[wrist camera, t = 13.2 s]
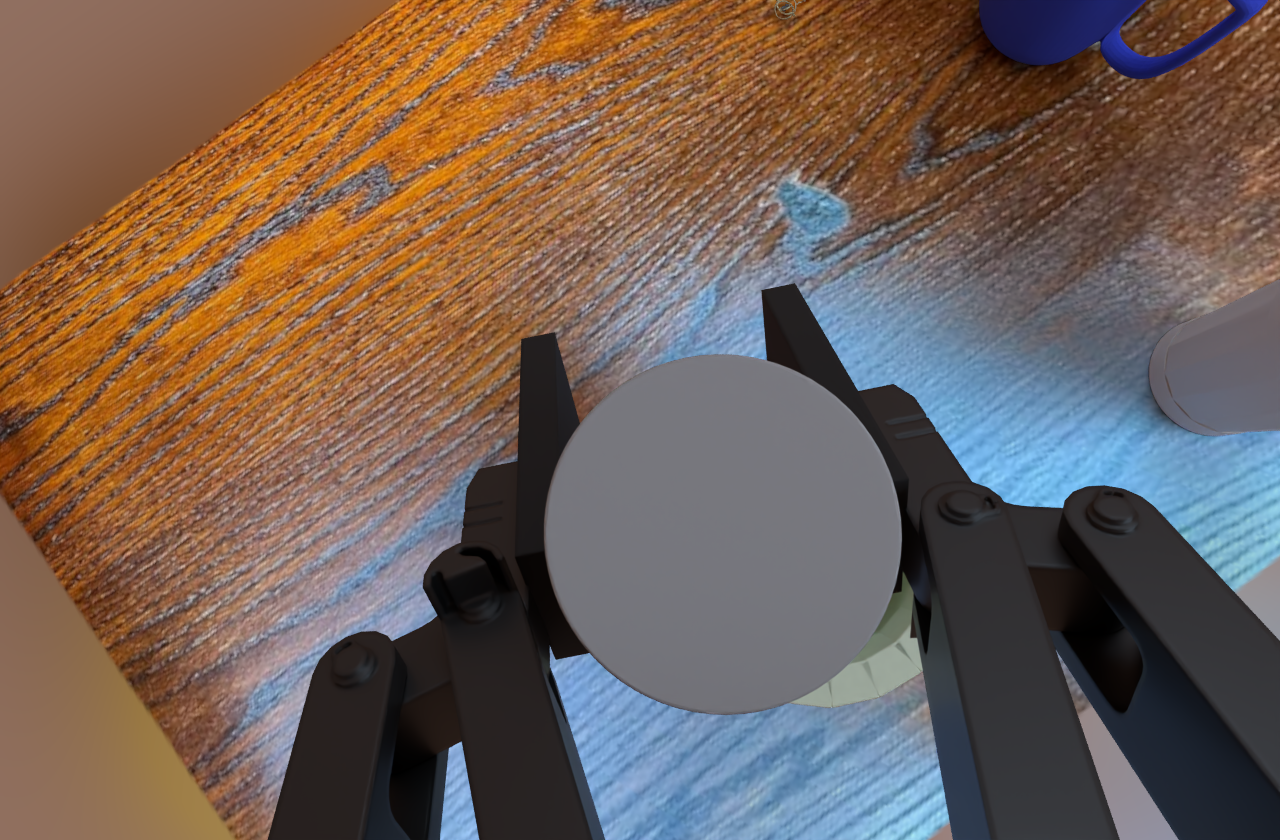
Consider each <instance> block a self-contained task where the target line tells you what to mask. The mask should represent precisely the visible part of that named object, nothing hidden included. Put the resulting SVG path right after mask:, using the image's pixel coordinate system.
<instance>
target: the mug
mask: <svg viewBox="0 0 1280 840" xmlns="http://www.w3.org/2000/svg"><path fill="white" fill-rule="evenodd" d="M1145 1H1146V0H980V1H979V14H980V20H981V24H982V27H983V30H984V32H985V34H986V36H987V38H988V39H989V40H990V42H991V43H992V44H993V45H994V46H995V48H996V49H998V50H999V51H1000V52H1001V53H1003V54H1004V55H1005V56H1007V57H1009V58H1011V59H1013V60H1015V61H1018V62H1021V63H1025V64H1030V65H1049V64H1054V63H1058V62H1061V61H1064V60H1067V59H1069V58H1071V57H1073V56H1075V55H1076V54H1078V53H1080V52H1081V51H1083V50H1084V49H1086V48H1088V47H1089V46H1091V45H1092V44H1094V43H1096V42H1098V41H1100V42H1101V47H1100V48H1101V53H1102V55H1103V57H1104V59H1105V60H1106V61H1107V62H1108V64H1109V65H1110V66H1111V67H1112V68H1113V69H1115V70H1116V71H1117V72H1119V73H1120V74H1122V75H1124V76H1127V77H1130V78H1135V79H1147V78H1152V77H1156V76H1159V75H1161V74H1164V73H1166V72H1169V71H1171V70H1173V69H1175V68H1177V67H1179V66H1181V65H1183V64H1185V63H1186V62H1188V61H1190V60H1191V59H1193V58H1195V57H1196V56H1198V55H1199V54H1201V53H1203V52H1204V51H1206V50H1207V49H1209V48H1210V47H1211V46H1213V45H1214V44H1216V43H1217V42H1219V41H1220V40H1221V39H1223V38H1224V37H1226V36H1227V35H1228V34H1230V33H1231V32H1233V31H1234V30H1235V29H1237V28H1238V27H1239V26H1241V25H1242V24H1244V23H1245V22H1246V21H1248V20H1249V19H1250V18H1251V17H1253V16H1254V15H1255V14H1256V13H1257V12H1258V11H1259V10H1260V9H1261V8H1262V7H1263V6H1264V5H1265V4H1266V3H1267V1H1268V0H1228V1H1229V2H1230V3H1231V4H1232V5H1233V6H1234V7H1235V9H1236V11H1235V12H1233V13H1232V14H1231V15H1229V16H1228V17H1227V18H1225V19H1224V20H1223V21H1221V22H1220V23H1219V24H1217V25H1216V26H1215V27H1213V28H1212V29H1211V30H1209V31H1208V32H1206V33H1205V34H1203V35H1202V36H1201V37H1199V38H1198V39H1196V40H1194V41H1193V42H1191V43H1190V44H1188V45H1186V46H1185V47H1183V48H1181V49H1179V50H1177V51H1175V52H1173V53H1170V54H1168V55H1164V56H1161V57H1145V56H1141V55H1139V54H1137V53H1135V52H1133V51H1132V50H1131V49H1129V48H1128V47H1127V46H1126V44H1125V43H1124V42H1123V41H1122V39H1121V37H1120V34H1119V30H1120V27H1121V26H1122V24H1123V23H1124V22H1125V21H1126V20H1127V19H1128V18H1129V17H1130V16H1131V15H1132V14H1133V13H1134V12H1135V11H1136V10H1137V9H1138V8H1139V7H1140V6H1141V5H1142V4H1143V3H1144V2H1145Z"/></svg>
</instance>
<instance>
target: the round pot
mask: <svg viewBox="0 0 1280 840" xmlns="http://www.w3.org/2000/svg"><path fill="white" fill-rule="evenodd" d="M913 594H914V592H913V590H912V588H911V586H910V584H909V582H908V580H907V578H906V576H905V574H904V572H903V578H902V592H898V593H893V594H892V596H891V599H890V602H889V604H888V607H887V609H886V611H885V614H884V616H883V618H882V620H881V622H880V624H879V626H878V627H877V629H876V630H875V632H874V634H873V635H872V637H871V638H870V640H869V641H868V642H867V644H866V645H865V647H864V648H863V649H862V650H861V651H860V653H859V654H858V655H857V656H856V657H855V658H854V659H853V660H852V661H851V662H850V664H848V665H847V666H846V667H845V668H844V669H843V670H842V671H841V672H840V673H839V674H837V675H836V676H835V677H834V678H832V679H831V680H830V681H828V682H827V683H825V684H824V685H822V686H821V687H819V688H818V689H816V690H814V691H813V692H811V693H809V694H807V695H805V696H803V697H801V698H799V699H797V700H795V701H792V702H790V704H799V705H808V706H817V707H825V708H831V707H833V708H834V707H839V706H843V705H848V704H853V703H857V702H862V701H867V700H871V699H876V698H878V697H881V696H883V695H885V694H886V693H888V692H890V691H891V690H893V689H895V688H896V687H898V686H900V685H901V684H903V683H905V682H906V681H908V680H910V679H911V678H913V677H915V676H916V675H918V674H920V671H923V669H922V663H921V658H920V652H919V647H918V641H917V638H910V631H911V619H912V606H913Z"/></svg>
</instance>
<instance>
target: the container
mask: <svg viewBox="0 0 1280 840" xmlns="http://www.w3.org/2000/svg"><path fill="white" fill-rule="evenodd" d="M901 542H902V530H901V516H900V509H899V504H898V499H897V494H896V490H895V487H894V483H893V480H892V477H891V474H890V472H889V469H888V467H887V465H886V462H885V460H884V458H883V456H882V454H881V452H880V450H879V448H878V446H877V445H876V443H875V441H874V440H873V438H872V437H871V435H870V434H869V432H868V431H867V430H866V428H865V427H864V425H863V424H862V423H861V422H860V420H859V419H858V418H857V417H856V416H855V415H854V414H853V412H852V411H851V410H850V409H849V408H848V407H847V406H846V405H845V404H843V403H842V402H841V401H840V400H839V399H838V398H837V397H836V396H834V395H833V394H832V393H831V392H829V391H828V390H827V389H825V388H824V387H823V386H821V385H819V384H818V383H816V382H815V381H813V380H812V379H810V378H808V377H806V376H804V375H802V374H800V373H798V372H797V371H794V370H792V369H790V368H787V367H785V366H782V365H779V364H776V363H773V362H770V361H766V360H762V359H758V358H754V357H747V356H739V355H700V356H694V357H687V358H683V359H678V360H674V361H671V362H668V363H665V364H662V365H659V366H656V367H654V368H651V369H649V370H646V371H644V372H642V373H640V374H638V375H636V376H635V377H633V378H631V379H630V380H628V381H626V382H625V383H623V384H622V385H620V386H619V387H618V388H616V389H615V390H613V391H612V392H611V393H610V394H608V395H607V396H606V397H605V398H604V399H602V400H601V401H600V402H599V403H598V404H597V405H596V406H595V407H594V408H593V409H592V410H591V411H590V413H589V414H588V415H587V416H586V417H585V418H584V419H583V421H582V422H581V423H580V425H579V426H578V427H577V429H576V430H575V431H574V433H573V435H572V436H571V438H570V440H569V441H568V443H567V444H566V446H565V448H564V450H563V452H562V454H561V456H560V459H559V461H558V463H557V466H556V468H555V471H554V474H553V477H552V480H551V484H550V488H549V492H548V496H547V502H546V508H545V517H544V546H545V557H546V562H547V568H548V573H549V577H550V581H551V584H552V587H553V590H554V594H555V596H556V598H557V601H558V603H559V606H560V608H561V610H562V612H563V614H564V616H565V618H566V620H567V622H568V623H569V625H570V627H571V629H572V630H573V632H574V633H575V635H576V636H577V637H578V639H579V640H580V642H581V643H582V644H583V646H584V647H585V648H586V649H587V650H588V652H589V653H590V654H591V655H592V656H593V657H594V658H595V659H596V660H597V661H598V662H599V663H600V664H601V665H602V666H603V667H604V668H605V669H606V670H607V671H608V672H610V673H611V674H612V675H614V676H615V677H616V678H617V679H619V680H620V681H621V682H623V683H625V684H626V685H628V686H629V687H631V688H632V689H634V690H635V691H637V692H639V693H641V694H643V695H645V696H647V697H649V698H651V699H654V700H656V701H658V702H661V703H663V704H666V705H669V706H672V707H675V708H679V709H683V710H688V711H692V712H698V713H706V714H720V715H732V714H745V713H752V712H759V711H763V710H768V709H772V708H775V707H778V706H782V705H784V704H787V703H790V702H792V701H795V700H797V699H799V698H801V697H803V696H805V695H807V694H809V693H811V692H813V691H814V690H816V689H818V688H819V687H821V686H822V685H824V684H825V683H827V682H828V681H830V680H831V679H832V678H834V677H835V676H836V675H837V674H839V673H840V672H841V671H842V670H843V669H844V668H845V667H846V666H847V665H848V664H850V662H851V661H852V660H853V659H854V658H855V657H856V656H857V655H858V654H859V653H860V651H861V650H862V649H863V648H864V647H865V645H866V644H867V642H868V641H869V640H870V638H871V637H872V635H873V634H874V632H875V630H876V629H877V627H878V626H879V624H880V622H881V620H882V618H883V616H884V614H885V611H886V609H887V607H888V604H889V602H890V599H891V596H892V593H893V590H894V587H895V584H896V580H897V575H898V570H899V565H900V557H901Z"/></svg>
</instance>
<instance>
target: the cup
mask: <svg viewBox="0 0 1280 840" xmlns="http://www.w3.org/2000/svg"><path fill="white" fill-rule="evenodd" d="M1149 380H1150V386H1151V389H1152V392H1153V395H1154V397H1155V399H1156V401H1157V403H1158V405H1159V406H1160V408H1161V409H1162V410H1163V411H1164V413H1165V414H1166V415H1167V416H1168V417H1169V418H1170V419H1171V420H1173V421H1174V422H1175V423H1176V424H1178V425H1179V426H1181V427H1183V428H1185V429H1187V430H1189V431H1191V432H1194V433H1197V434H1201V435H1206V436H1225V435H1232V434H1239V433H1245V432H1259V431H1280V279H1279V280H1277V281H1275V282H1273V283H1271V284H1269V285H1267V286H1265V287H1262V288H1260V289H1258V290H1256V291H1254V292H1252V293H1250V294H1248V295H1246V296H1244V297H1242V298H1240V299H1238V300H1236V301H1234V302H1232V303H1230V304H1228V305H1226V306H1224V307H1221V308H1219V309H1217V310H1215V311H1213V312H1211V313H1209V314H1206V315H1203V316H1200V317H1197V318H1195V319H1192V320H1189V321H1187V322H1184V323H1182V324H1179V325H1177V326H1176V327H1174V328H1172V329H1171V330H1170V331H1168V332H1167V333H1166V334H1165V335H1164V336H1163V337H1162V338H1161V339H1160V341H1159V342H1158V344H1157V345H1156V347H1155V349H1154V351H1153V353H1152V356H1151V360H1150V365H1149Z"/></svg>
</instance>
